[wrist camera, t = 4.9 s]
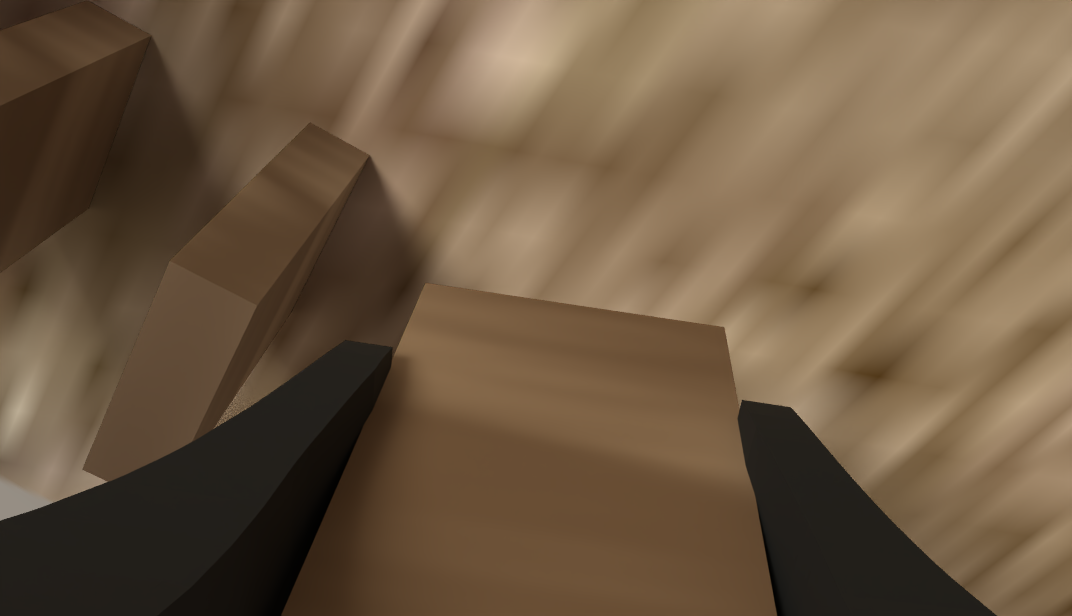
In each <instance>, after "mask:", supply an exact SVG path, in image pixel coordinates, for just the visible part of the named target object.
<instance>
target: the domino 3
mask: <svg viewBox="0 0 1072 616" xmlns="http://www.w3.org/2000/svg"><path fill="white" fill-rule="evenodd" d="M738 414H739V405H738V399H737V394H736V388H735V383H734V378H733V372H732V367H731V361H730V356H729V350H728V345H727V339H726V334H725V328H724V327H719V326H712V325H705V324H699V323H692V322H685V321H678V320H672V319H665V318H658V317H652V316H645V315H638V314H631V313H625V312H618V311H611V310H604V309H598V308H591V307H584V306H577V305H571V304H564V303H557V302H551V301H544V300H537V299H530V298H524V297H517V296H510V295H503V294H497V293H490V292H483V291H476V290H470V289H463V288H456V287H450V286H443V285H436V284H429V283H425V285H424V287H423V290H422V292H421V294H420V297H419V299H418V301H417V304H416V306H415V308H414V310H413V313H412V315H411V317H410V320H409V322H408V324H407V327H406V329H405V331H404V334H403V336H402V338H401V340H400V343H399V345H398V347H397V350H396V352H395V354H394V357H393V359H392V364H391V368H390V371H389V373H388V375H387V378H386V380H385V382H384V385H383V387H382V389H381V392H380V394H379V396H378V399H377V401H376V403H375V406H374V408H373V410H372V412H371V414H370V415H369V417H368V419H367V420H366V422H365V423H364V426H363V428H362V430H361V433H360V435H359V437H358V440H357V442H356V444H355V446H354V449H353V451H352V453H351V456H350V458H349V460H348V463H347V465H346V467H345V469H344V472H343V474H342V476H341V479H340V481H339V483H338V486H337V488H336V490H335V493H334V495H333V497H332V499H331V502H330V504H329V506H328V509H327V511H326V513H325V516H324V518H323V520H322V522H321V525H320V527H319V529H318V532H317V534H316V536H315V539H314V541H313V543H312V546H311V548H310V550H309V552H308V555H307V557H306V559H305V562H304V564H303V566H302V569H301V571H300V573H299V575H298V578H297V580H296V582H295V585H294V587H293V589H292V592H291V594H290V596H289V599H288V601H287V603H286V605H285V608H284V610H283V612H282V615H281V616H777V613H776V607H775V602H774V596H773V591H772V585H771V580H770V574H769V569H768V563H767V558H766V552H765V547H764V541H763V536H762V531H761V525H760V520H759V514H758V509H757V503H756V498H755V494H754V491H753V488H752V484H751V481H750V478H749V475H748V472H747V469H746V465H745V459H744V454H743V448H742V442H741V437H740V431H739V425H738V420H737V418H738Z"/></svg>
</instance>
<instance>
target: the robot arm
mask: <svg viewBox="0 0 1072 616" xmlns="http://www.w3.org/2000/svg"><path fill="white" fill-rule="evenodd" d="M392 348H393V347H387V346H380V345H374V344H367V343H360V342H354V341H347V340H345V341H344V342H342V343H341V344H339V345H338V346H336V347H335V348H333V349H332V350H330V351H329V352H328V353H326V354H325V355H323V356H322V357H321V358H319V359H318V360H316V361H315V362H314V363H312V364H311V365H309V366H308V367H307V368H305V369H304V370H303V371H301V372H300V373H298V374H297V375H296V376H294V377H293V378H291V379H290V380H289V381H287V382H286V383H284V384H283V385H282V386H280V387H279V388H277V389H276V390H274V391H273V392H271V393H270V394H268V395H267V396H265V397H264V398H262V399H261V400H260V401H258V402H257V403H255V404H254V405H252V406H251V407H249V408H248V409H246V410H244V411H243V412H241V413H239V414H238V415H236V416H234V417H233V418H231V419H229V420H228V421H226V422H224V423H223V424H221V425H220V426H218V427H216V428H215V429H213V430H211V431H210V432H208V433H206V434H205V435H203V436H201V437H200V438H198V439H196V440H194V441H193V442H191V443H189V444H187V445H185V446H183V447H182V448H180V449H178V450H176V451H174V452H172V453H170V454H168V455H166V456H164V457H162V458H160V459H158V460H156V461H154V462H151V463H149V464H147V465H145V466H143V467H141V468H139V469H136V470H134V471H132V472H130V473H128V474H126V475H123V476H121V477H119V478H117V479H114V480H112V481H109V482H107V483H104V484H102V485H99V486H96V487H94V488H91V489H88V490H86V491H83V492H81V493H78V494H75V495H73V496H70V497H68V498H65V499H62V500H60V501H57V502H54V503H52V504H49V505H47V506H44V507H41V508H38V509H35V510H32V511H30V512H26V513H23V514H20V515H17V516H14V517H11V518H7V519H4V520H1V521H0V616H281V615H282V612H283V610H284V608H285V605H286V603H287V601H288V599H289V596H290V594H291V592H292V589H293V587H294V585H295V582H296V580H297V578H298V575H299V573H300V571H301V569H302V566H303V564H304V562H305V559H306V557H307V555H308V552H309V550H310V548H311V546H312V543H313V541H314V539H315V536H316V534H317V532H318V529H319V527H320V525H321V522H322V520H323V518H324V516H325V513H326V511H327V509H328V506H329V504H330V502H331V499H332V497H333V495H334V493H335V490H336V488H337V486H338V483H339V481H340V479H341V476H342V474H343V472H344V469H345V467H346V465H347V463H348V460H349V458H350V456H351V453H352V451H353V449H354V446H355V444H356V442H357V440H358V437H359V435H360V433H361V430H362V428H363V426H364V423H365V422H366V420H367V419H368V417H369V415H370V414H371V412H372V410H373V408H374V406H375V403H376V401H377V399H378V396H379V394H380V392H381V389H382V387H383V385H384V382H385V380H386V378H387V375H388V373H389V371H390V368H391V364H392ZM737 420H738V425H739V431H740V437H741V442H742V448H743V454H744V459H745V465H746V469H747V472H748V475H749V478H750V481H751V484H752V488H753V491H754V494H755V498H756V503H757V509H758V514H759V520H760V525H761V531H762V536H763V541H764V547H765V552H766V558H767V563H768V569H769V574H770V580H771V585H772V591H773V596H774V602H775V607H776V613H777V616H997V615H995V614H994V613H993V612H992V611H991V610H989V609H988V608H987V607H986V606H985V605H983V604H982V603H981V602H980V601H978V600H977V599H976V598H975V597H974V596H972V595H971V594H970V593H969V592H968V591H966V590H965V589H964V588H963V587H962V586H960V585H959V584H958V583H957V582H956V581H954V580H953V579H952V578H951V577H950V576H949V575H948V574H946V573H945V572H944V571H943V570H942V569H941V568H940V567H939V566H938V565H936V564H935V563H934V562H933V561H932V560H931V559H930V558H929V557H928V556H927V555H926V554H925V553H924V552H923V551H922V550H921V549H920V548H919V547H918V546H917V545H916V544H914V543H913V542H912V541H911V540H910V539H909V538H908V537H907V536H906V535H905V534H904V533H903V532H902V531H901V530H900V529H899V528H898V527H897V526H896V525H895V524H894V523H893V522H892V521H891V520H890V519H889V518H888V517H887V516H886V514H885V513H884V512H883V511H882V510H881V509H880V508H879V507H878V506H877V505H876V504H875V503H874V502H873V501H872V500H871V499H870V497H869V496H868V495H867V494H866V493H865V492H864V491H863V490H862V489H861V487H860V486H859V485H858V484H857V483H856V482H855V481H854V480H853V479H852V477H851V476H850V475H849V474H848V473H847V472H846V471H845V469H844V468H843V467H842V466H841V465H840V464H839V462H838V461H837V460H836V459H835V458H834V457H833V455H832V454H831V453H830V452H829V451H828V450H827V448H826V447H825V446H824V445H823V444H822V443H821V441H820V440H819V439H818V438H817V437H816V435H815V434H814V433H813V432H812V431H811V430H810V428H809V427H808V426H807V425H806V424H805V423H804V421H803V420H802V419H801V418H800V417H799V416H798V415H797V414H796V413H795V411H794V410H793V409H792V408H791V407H785V406H778V405H772V404H765V403H758V402H752V401H745V400H742V402H741V406H740V410H739V414H738V418H737Z"/></svg>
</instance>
